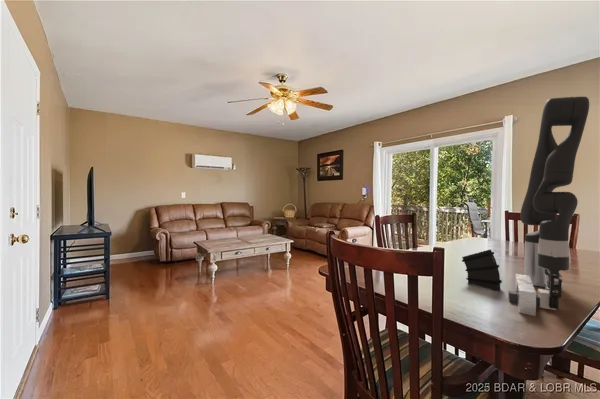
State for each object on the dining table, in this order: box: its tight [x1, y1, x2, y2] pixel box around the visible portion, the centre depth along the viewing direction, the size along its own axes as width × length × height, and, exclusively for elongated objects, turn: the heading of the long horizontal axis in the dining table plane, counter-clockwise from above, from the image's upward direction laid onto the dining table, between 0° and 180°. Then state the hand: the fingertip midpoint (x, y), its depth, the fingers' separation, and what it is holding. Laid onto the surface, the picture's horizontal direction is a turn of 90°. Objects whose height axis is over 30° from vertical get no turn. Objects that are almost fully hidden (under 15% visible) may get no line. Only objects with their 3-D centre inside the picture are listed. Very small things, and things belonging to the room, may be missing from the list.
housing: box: [514, 273, 537, 317], centre depth 94 cm, size 4×22×7 cm, turn 144°
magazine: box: [461, 249, 503, 292], centre depth 111 cm, size 4×13×15 cm, turn 33°
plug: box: [507, 288, 557, 311], centre depth 93 cm, size 13×4×5 cm, turn 58°
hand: (552, 304), depth 90 cm, fingers open, 5 cm apart
